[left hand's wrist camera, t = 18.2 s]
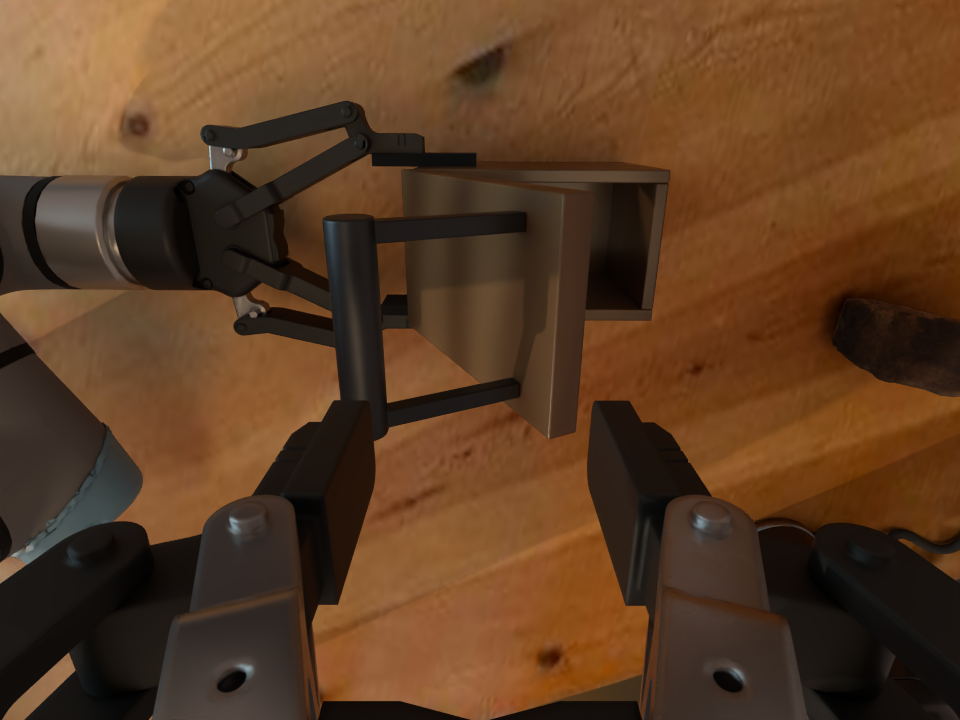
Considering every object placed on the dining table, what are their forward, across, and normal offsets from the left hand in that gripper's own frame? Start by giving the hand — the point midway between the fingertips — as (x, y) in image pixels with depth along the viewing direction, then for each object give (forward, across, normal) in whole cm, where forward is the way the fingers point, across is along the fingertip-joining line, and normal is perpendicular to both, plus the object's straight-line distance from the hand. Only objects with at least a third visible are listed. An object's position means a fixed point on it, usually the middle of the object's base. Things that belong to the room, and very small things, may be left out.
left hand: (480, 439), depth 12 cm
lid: (+15, 0, 0) cm, 15 cm away
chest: (+33, -4, 0) cm, 34 cm away
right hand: (+27, 0, 0) cm, 27 cm away
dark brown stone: (+34, -35, +9) cm, 49 cm away
